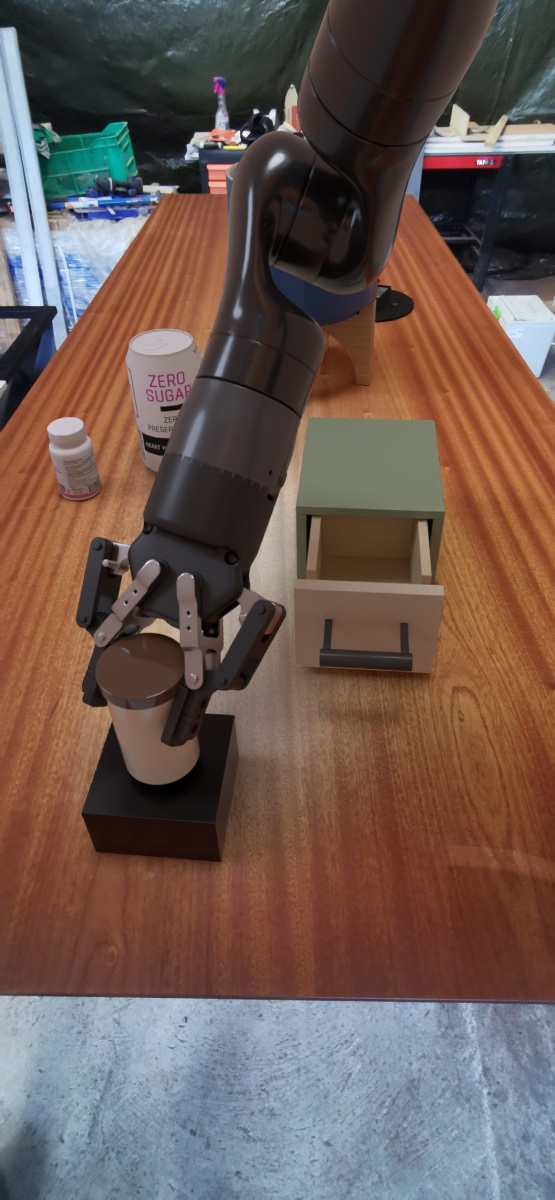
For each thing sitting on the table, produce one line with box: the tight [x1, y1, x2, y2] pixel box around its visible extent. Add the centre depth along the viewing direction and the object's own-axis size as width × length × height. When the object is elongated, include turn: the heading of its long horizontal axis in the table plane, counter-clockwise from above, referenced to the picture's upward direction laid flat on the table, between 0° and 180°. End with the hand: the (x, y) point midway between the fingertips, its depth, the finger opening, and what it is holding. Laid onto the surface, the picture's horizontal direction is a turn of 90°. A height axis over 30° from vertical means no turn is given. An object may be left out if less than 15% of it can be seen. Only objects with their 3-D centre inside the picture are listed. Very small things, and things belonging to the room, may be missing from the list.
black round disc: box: [375, 278, 415, 323], centre depth 124 cm, size 15×15×6 cm
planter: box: [225, 161, 379, 386], centre depth 98 cm, size 19×19×26 cm
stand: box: [80, 712, 240, 862], centre depth 53 cm, size 9×9×5 cm
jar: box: [95, 632, 200, 785], centre depth 48 cm, size 6×6×9 cm
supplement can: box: [125, 328, 202, 474], centre depth 85 cm, size 8×8×15 cm
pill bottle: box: [46, 416, 102, 501], centre depth 83 cm, size 5×5×8 cm
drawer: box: [293, 515, 445, 674], centre depth 63 cm, size 19×12×9 cm, turn 174°
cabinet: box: [295, 416, 446, 585], centre depth 73 cm, size 16×13×11 cm
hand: (133, 723), depth 46 cm, fingers closed on jar, 5 cm apart
